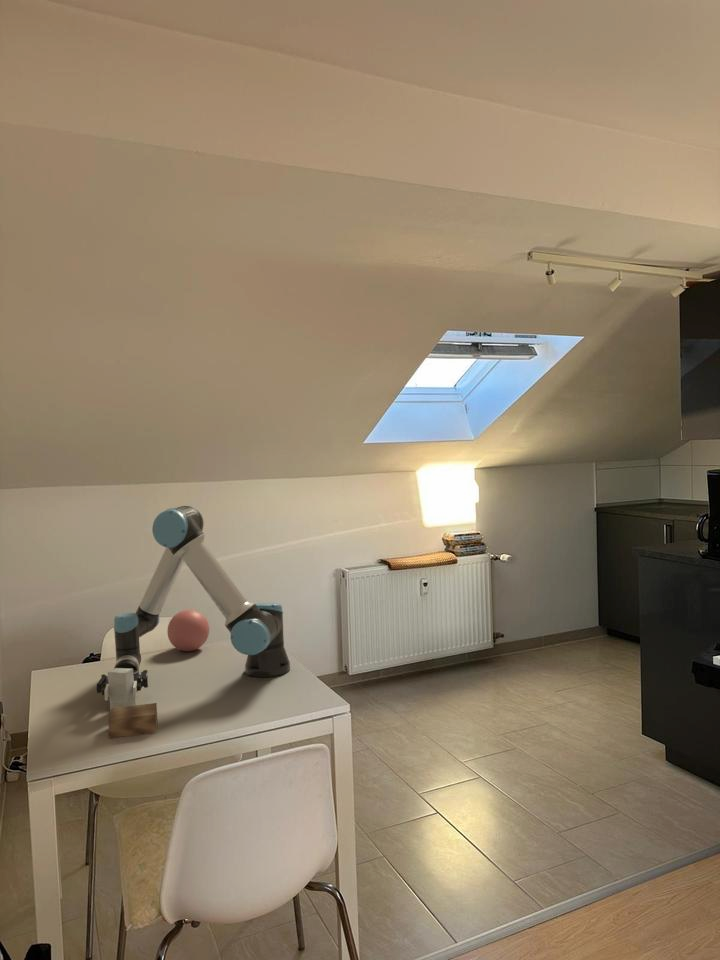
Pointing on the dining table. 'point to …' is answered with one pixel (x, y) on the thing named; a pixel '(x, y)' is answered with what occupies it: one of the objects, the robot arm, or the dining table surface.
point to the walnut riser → (132, 720)
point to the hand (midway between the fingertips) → (120, 694)
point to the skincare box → (121, 687)
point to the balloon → (188, 630)
